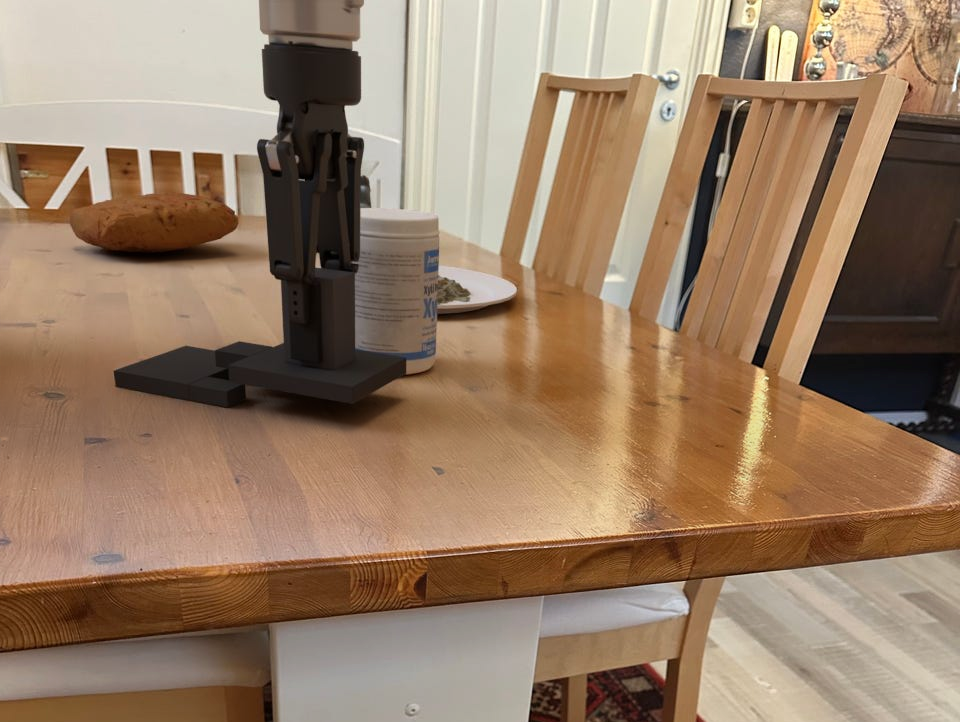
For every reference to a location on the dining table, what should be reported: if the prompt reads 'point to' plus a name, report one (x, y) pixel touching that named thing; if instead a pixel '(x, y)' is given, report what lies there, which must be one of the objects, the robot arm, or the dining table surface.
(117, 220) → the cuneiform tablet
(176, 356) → the base pad
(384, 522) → the dining table surface
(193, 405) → the dining table surface
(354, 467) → the dining table surface
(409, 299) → the supplement tub
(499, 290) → the plated food
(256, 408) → the dining table surface
